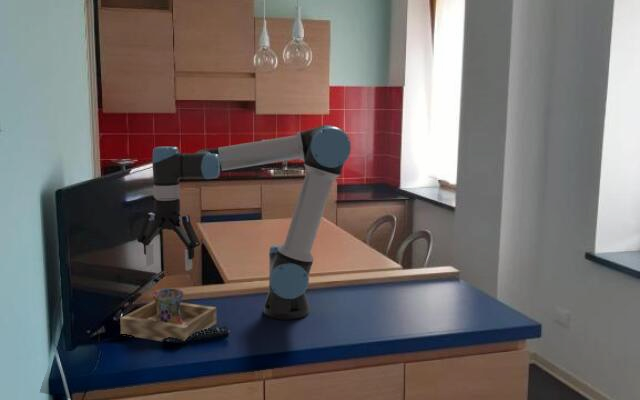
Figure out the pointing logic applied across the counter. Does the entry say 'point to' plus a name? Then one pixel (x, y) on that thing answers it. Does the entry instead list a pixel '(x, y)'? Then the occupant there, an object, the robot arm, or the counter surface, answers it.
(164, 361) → the counter surface
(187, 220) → the robot arm
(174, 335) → the wooden tray
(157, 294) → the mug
